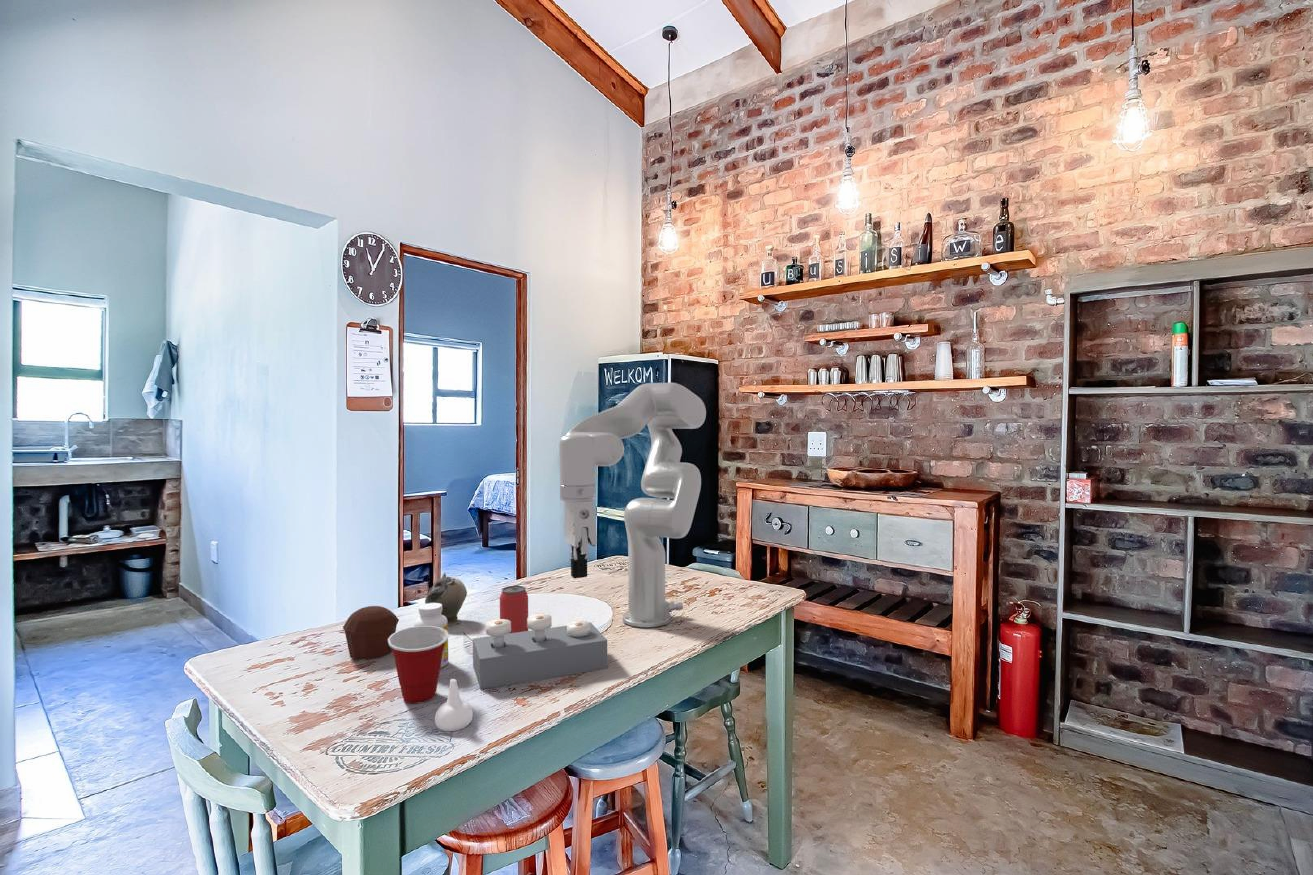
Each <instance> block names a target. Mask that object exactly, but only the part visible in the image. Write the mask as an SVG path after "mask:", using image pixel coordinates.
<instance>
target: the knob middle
mask: <svg viewBox="0 0 1313 875" xmlns="http://www.w3.org/2000/svg"><path fill="white" fill-rule="evenodd" d="M552 618H553V617H552V616H551V615H550V614H547V613H536V614H531V615H528V618H527V627H528V630H529V631H531V630H534V643H536V642H543V641H545V629H548V628H552V624H553V622H552Z"/></svg>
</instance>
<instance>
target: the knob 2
mask: <svg viewBox="0 0 1313 875" xmlns="http://www.w3.org/2000/svg"><path fill="white" fill-rule="evenodd" d="M566 626H567V634H568V635H569V636H572V637H582V636H586V635H589V634H590V622H589V621H587V620H574V621H570V622H568V623H567V624H566Z"/></svg>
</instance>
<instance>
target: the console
mask: <svg viewBox="0 0 1313 875" xmlns="http://www.w3.org/2000/svg"><path fill="white" fill-rule="evenodd" d="M589 623H590V634H589V635H586V636H582V637H572V636H569V635H568V634H567V625H561V626H556V627H555V626H554V627H550V628H548V629H545V641H543V642H536V643H534V630H528V631H524V632H516V633H509V634H506V635H504V647H501V648H494V649H493V636H490V635H487V636H482V637H474V638H472V667H473V670H474V673H475V677H476V680H477V683H478V686H479V689H480V690H484V689H490V688H497V687H504V686H509V685H515V684H520V683H527V682H532V681H534V682H535V681H538V680H539V681H540V680H545V679H549V678H550V679H551V678H556V677H562V676H567V675H575V674H579V673H580V674H581V673H587V672H591V671H592V672H593V671H598V670H605V669H608V639H607V638H606V637H605V636H604V635H603V634H602V633H601V632H600V630H598V629H597V627H596V626H595V625H594V624H593V623H592V622H589Z"/></svg>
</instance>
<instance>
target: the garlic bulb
mask: <svg viewBox="0 0 1313 875" xmlns="http://www.w3.org/2000/svg"><path fill="white" fill-rule="evenodd" d="M458 687H459V686H458V683H457V679H455V678H451V679H449V690H448V696H447V700H446V701H445V702H444V703H442V704H441V705H440V706H438V707H439V708H437V710H436V713H435V715H434V716H435V717H434V724H435V726H436V728H437V729H439V730H440V731H444V732H457V731H460V730H462V729H464V728H466V727H467V726H469V725H470V724H471V722H472V720H473V713H474V712H473V708H472V706H471V704H470V703H468V702H467V701H466V700H464V699H463V700H462V699H461V696H460V692H459V688H458Z"/></svg>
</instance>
